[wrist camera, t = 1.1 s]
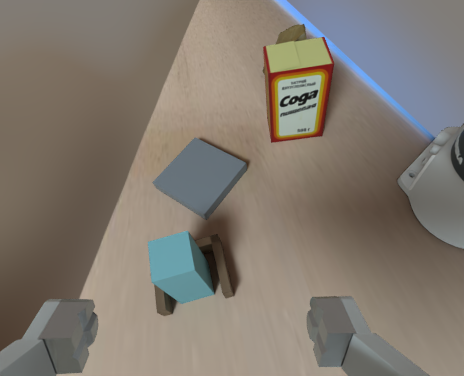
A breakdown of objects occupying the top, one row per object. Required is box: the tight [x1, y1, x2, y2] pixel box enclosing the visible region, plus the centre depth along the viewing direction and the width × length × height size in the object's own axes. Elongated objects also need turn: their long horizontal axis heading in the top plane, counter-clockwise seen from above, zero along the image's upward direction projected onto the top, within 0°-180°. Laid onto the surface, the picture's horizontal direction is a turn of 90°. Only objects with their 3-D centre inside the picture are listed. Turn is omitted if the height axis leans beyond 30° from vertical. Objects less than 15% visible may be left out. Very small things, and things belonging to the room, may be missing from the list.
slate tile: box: [153, 138, 247, 220], centre depth 54 cm, size 12×12×2 cm
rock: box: [263, 24, 306, 74], centre depth 66 cm, size 11×9×10 cm
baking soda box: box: [263, 37, 334, 143], centre depth 52 cm, size 10×6×16 cm
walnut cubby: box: [154, 234, 234, 316], centre depth 45 cm, size 10×9×3 cm
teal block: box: [148, 231, 214, 304], centre depth 40 cm, size 5×5×12 cm
